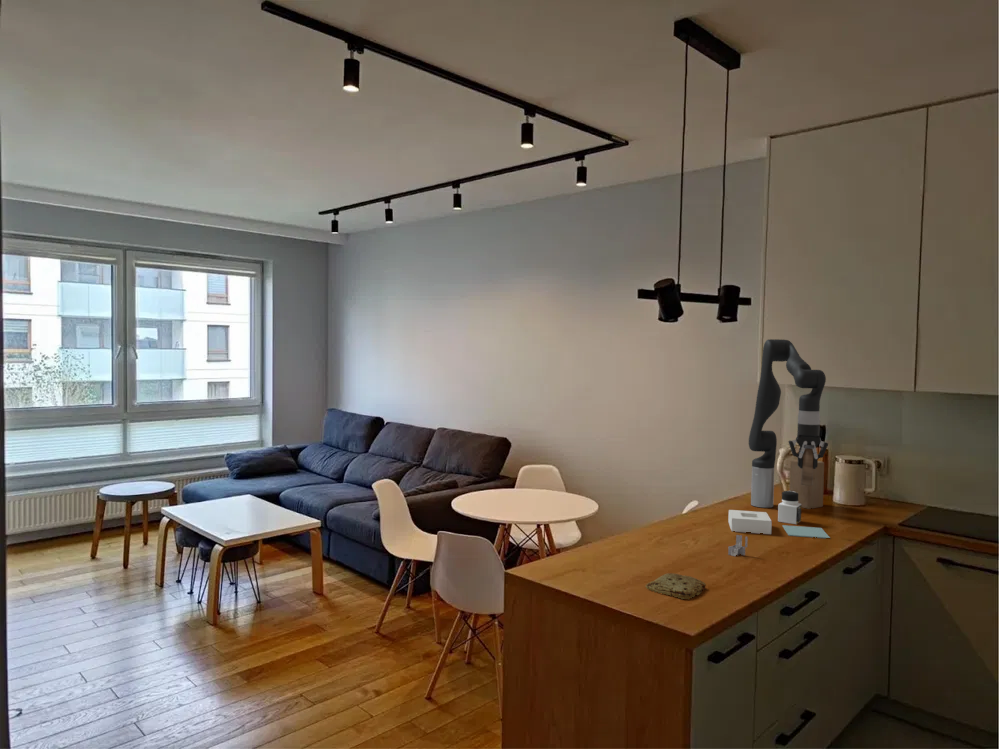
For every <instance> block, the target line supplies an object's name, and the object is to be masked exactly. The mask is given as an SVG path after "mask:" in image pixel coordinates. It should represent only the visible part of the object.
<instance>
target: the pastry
mask: <svg viewBox="0 0 999 749" xmlns="http://www.w3.org/2000/svg"><path fill="white" fill-rule="evenodd" d="M706 586H707V584H706V583H705V581H702V580H700V579H698V578H695V577H693V576H690V575H682V574H678V573H673V572H671V573H670V572H669V573H665V574H663V575H661V576H659V577H658V578H656V579H654V580H651V581H650V582H647V583H646V584H645V587H646V588H647V589H649V590H648V591H650V590H651V592H653V591H654V593H656V592H658V593H657V594H659V593H662V594H661V595H663V594H666V595H665V596H668V595H670V596H669V597H672V596H674V597H673V598H675V597H678V598H677V599H679V598H681V599H680V600H683V599H688V600H690V599H689V598H691V599H693V598H695V597H696V596H695V595H697V596H699V595H700V594H702V592H703V591H704V590H706ZM645 587H644V588H645ZM646 588H645V589H646ZM647 589H646V590H647ZM702 590H703V591H702ZM692 597H693V598H692Z"/></svg>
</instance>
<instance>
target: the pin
mask: <svg viewBox="0 0 999 749" xmlns="http://www.w3.org/2000/svg"><path fill="white" fill-rule="evenodd" d="M803 448H805V451H804V453H803V456H802V459H803V464H802V470H801V485H806V486H812V485H813V461H814V454H813V449H814V445H804V447H803Z"/></svg>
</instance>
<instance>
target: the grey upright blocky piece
mask: <svg viewBox="0 0 999 749" xmlns="http://www.w3.org/2000/svg"><path fill="white" fill-rule="evenodd" d="M744 538H745V539H744V542H745V544H744V546H742V545H743V535H739V534H736V535H735V545H731V546H729V545H728V549H727V550H728V551H727V553H728V554H727V555H728V556H731V557H735V558H736V555H737V556H739V555H740V554H741V556H746V548H748V536H745V537H744Z"/></svg>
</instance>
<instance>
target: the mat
mask: <svg viewBox="0 0 999 749" xmlns="http://www.w3.org/2000/svg"><path fill="white" fill-rule="evenodd" d="M781 526H782V528H783V529H784V531H785V532H786V534H787V536H789V537H799V538H800V537H802V538H813V537H815V539H826V538H830V539H831V537H830V536H829V535H828V534H827V532H825V530H824V529H823V528H822V527H813V526H800V525H798V526H797V525H786V524H785V525H784V524H783V525H781ZM816 537H817V538H816Z"/></svg>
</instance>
